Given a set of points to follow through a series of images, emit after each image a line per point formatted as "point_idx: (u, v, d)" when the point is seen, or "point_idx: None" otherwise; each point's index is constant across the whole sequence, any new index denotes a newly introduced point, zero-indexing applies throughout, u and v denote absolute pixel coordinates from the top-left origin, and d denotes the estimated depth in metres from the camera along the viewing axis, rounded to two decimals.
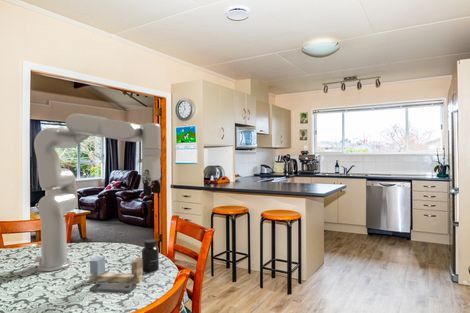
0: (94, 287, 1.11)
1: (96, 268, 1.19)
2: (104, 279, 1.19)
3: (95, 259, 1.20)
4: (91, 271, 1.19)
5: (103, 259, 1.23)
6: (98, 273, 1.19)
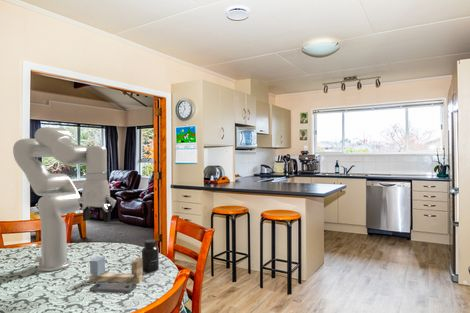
0: (94, 287, 1.11)
1: (96, 268, 1.19)
2: (104, 279, 1.19)
3: (95, 259, 1.20)
4: (91, 271, 1.19)
5: (103, 259, 1.23)
6: (98, 273, 1.19)
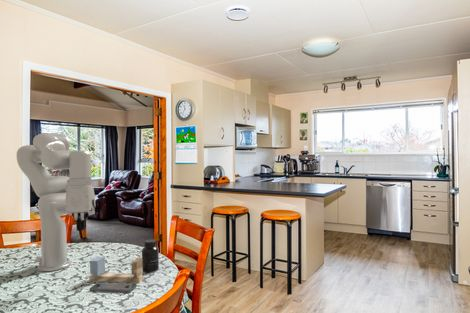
0: (94, 287, 1.11)
1: (96, 268, 1.19)
2: (104, 279, 1.19)
3: (95, 259, 1.20)
4: (91, 271, 1.19)
5: (103, 259, 1.23)
6: (98, 273, 1.19)
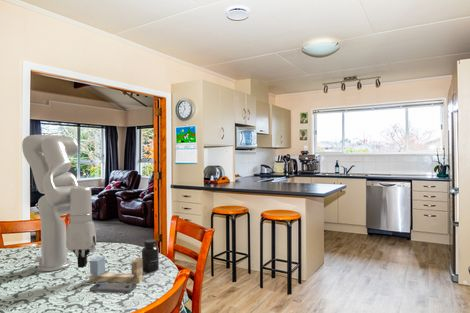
0: (94, 287, 1.11)
1: (96, 268, 1.19)
2: (104, 279, 1.19)
3: (95, 259, 1.20)
4: (91, 271, 1.19)
5: (103, 259, 1.23)
6: (98, 273, 1.19)
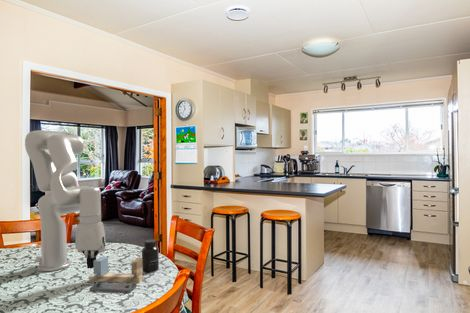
0: (94, 287, 1.11)
1: (99, 268, 1.18)
2: (104, 279, 1.19)
3: (98, 259, 1.20)
4: (94, 271, 1.19)
5: (106, 259, 1.22)
6: (101, 273, 1.19)
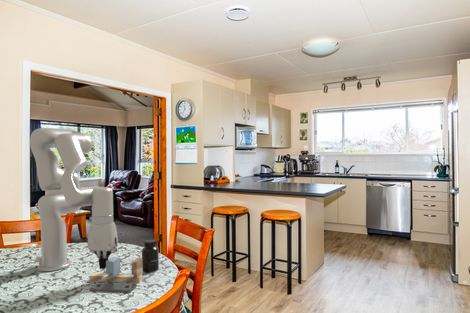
0: (94, 287, 1.11)
1: (112, 269, 1.18)
2: (104, 279, 1.19)
3: (111, 259, 1.20)
4: (107, 272, 1.18)
5: (118, 259, 1.22)
6: (114, 274, 1.18)
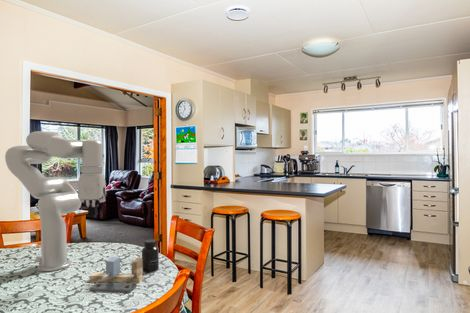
0: (94, 287, 1.11)
1: (112, 269, 1.18)
2: (104, 279, 1.19)
3: (111, 259, 1.20)
4: (107, 272, 1.18)
5: (118, 259, 1.22)
6: (114, 274, 1.18)
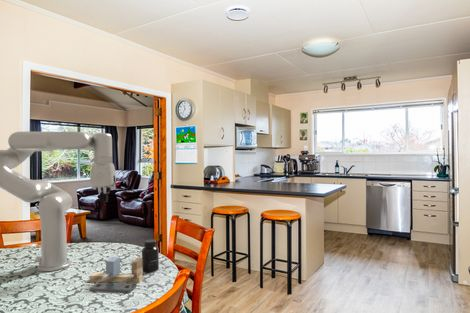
0: (94, 287, 1.11)
1: (112, 269, 1.18)
2: (104, 279, 1.19)
3: (111, 259, 1.20)
4: (107, 272, 1.18)
5: (118, 259, 1.22)
6: (114, 274, 1.18)
